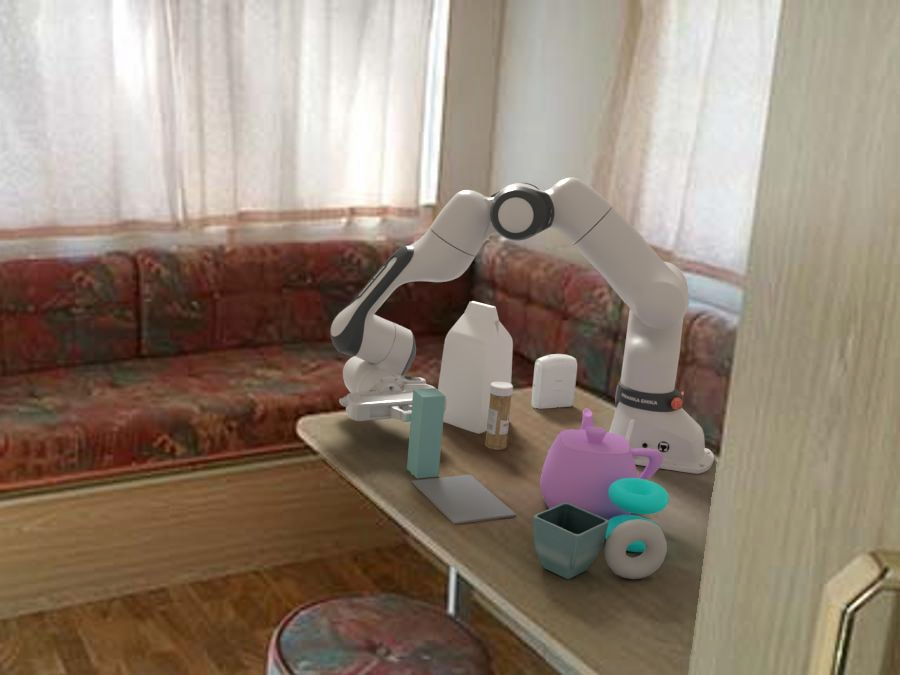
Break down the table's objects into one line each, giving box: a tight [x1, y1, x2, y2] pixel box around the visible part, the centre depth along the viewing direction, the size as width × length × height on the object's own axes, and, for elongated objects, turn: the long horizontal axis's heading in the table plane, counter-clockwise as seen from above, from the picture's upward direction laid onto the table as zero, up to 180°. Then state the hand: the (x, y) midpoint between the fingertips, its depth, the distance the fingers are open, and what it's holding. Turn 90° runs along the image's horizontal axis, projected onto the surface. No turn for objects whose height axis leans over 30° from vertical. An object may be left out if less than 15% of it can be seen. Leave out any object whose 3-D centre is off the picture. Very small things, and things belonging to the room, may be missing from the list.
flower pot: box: [533, 503, 609, 580], centre depth 167 cm, size 9×9×9 cm
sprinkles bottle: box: [484, 381, 514, 451], centre depth 216 cm, size 5×5×14 cm
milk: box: [437, 300, 514, 435], centre depth 228 cm, size 12×12×26 cm
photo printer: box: [530, 353, 578, 410], centre depth 244 cm, size 10×4×12 cm, turn 114°
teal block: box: [406, 387, 445, 480], centre depth 199 cm, size 4×4×16 cm
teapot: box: [539, 407, 663, 520], centre depth 193 cm, size 23×21×15 cm
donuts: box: [604, 478, 670, 553], centre depth 179 cm, size 10×10×10 cm
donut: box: [603, 519, 668, 580], centre depth 166 cm, size 10×3×10 cm, turn 98°
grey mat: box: [411, 474, 517, 525], centre depth 191 cm, size 18×12×1 cm, turn 25°
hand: (411, 417), depth 205 cm, fingers closed
